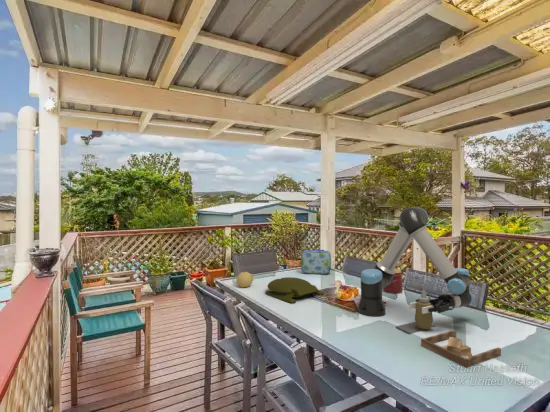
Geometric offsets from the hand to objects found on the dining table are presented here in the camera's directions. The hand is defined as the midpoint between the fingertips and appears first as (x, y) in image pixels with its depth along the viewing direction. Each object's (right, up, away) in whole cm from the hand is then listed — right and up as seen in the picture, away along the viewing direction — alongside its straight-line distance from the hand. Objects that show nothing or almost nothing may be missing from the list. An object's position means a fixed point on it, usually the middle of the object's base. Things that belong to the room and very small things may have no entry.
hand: (416, 308), depth 152 cm
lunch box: (-31, -10, +126) cm, 130 cm away
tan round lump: (-90, -11, +86) cm, 125 cm away
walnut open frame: (+9, -12, -20) cm, 25 cm away
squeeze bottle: (+5, -10, +2) cm, 11 cm away
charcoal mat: (+5, -12, +2) cm, 13 cm away
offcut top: (+6, -9, -21) cm, 24 cm away
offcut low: (+6, -13, -21) cm, 26 cm away
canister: (+15, -11, +71) cm, 73 cm away
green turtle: (-56, -12, +67) cm, 88 cm away
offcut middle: (+7, -11, -21) cm, 25 cm away
